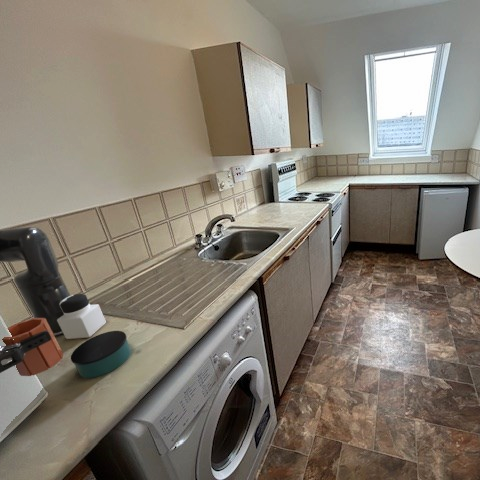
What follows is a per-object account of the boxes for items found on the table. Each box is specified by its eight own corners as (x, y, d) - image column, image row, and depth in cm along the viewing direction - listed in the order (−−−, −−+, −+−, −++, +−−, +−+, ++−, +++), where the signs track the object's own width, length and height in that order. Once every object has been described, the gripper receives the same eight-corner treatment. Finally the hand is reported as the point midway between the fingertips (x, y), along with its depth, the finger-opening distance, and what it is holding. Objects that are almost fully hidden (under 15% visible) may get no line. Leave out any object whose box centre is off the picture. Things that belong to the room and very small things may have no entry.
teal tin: (79, 359, 71) (71, 345, 69) (129, 338, 77) (123, 324, 76) (77, 387, 62) (69, 371, 61) (134, 361, 69) (128, 346, 67)
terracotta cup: (23, 363, 55) (3, 327, 52) (63, 347, 58) (46, 313, 55) (18, 381, 50) (-6, 344, 47) (61, 364, 54) (42, 328, 51)
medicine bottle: (107, 322, 86) (93, 290, 81) (89, 337, 79) (73, 303, 75) (84, 324, 86) (70, 292, 81) (65, 339, 79) (48, 305, 75)
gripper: (-116, 396, 36) (48, 323, 49) (-121, 359, 43) (23, 304, 56) (-83, 434, 38) (64, 355, 52) (-93, 393, 45) (39, 333, 59)
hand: (42, 329), depth 54 cm, fingers closed on terracotta cup, 6 cm apart
